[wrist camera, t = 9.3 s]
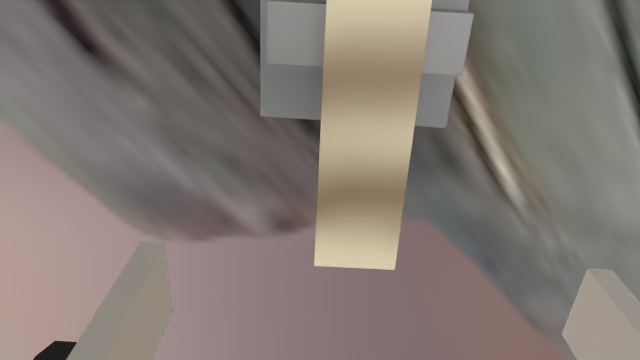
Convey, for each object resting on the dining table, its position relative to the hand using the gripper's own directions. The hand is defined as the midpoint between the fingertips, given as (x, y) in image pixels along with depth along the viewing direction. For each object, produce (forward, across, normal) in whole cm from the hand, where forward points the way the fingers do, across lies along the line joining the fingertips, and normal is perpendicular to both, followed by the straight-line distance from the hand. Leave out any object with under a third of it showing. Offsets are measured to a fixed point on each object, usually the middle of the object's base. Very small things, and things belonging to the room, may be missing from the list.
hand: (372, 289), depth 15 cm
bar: (+12, 0, +5) cm, 13 cm away
